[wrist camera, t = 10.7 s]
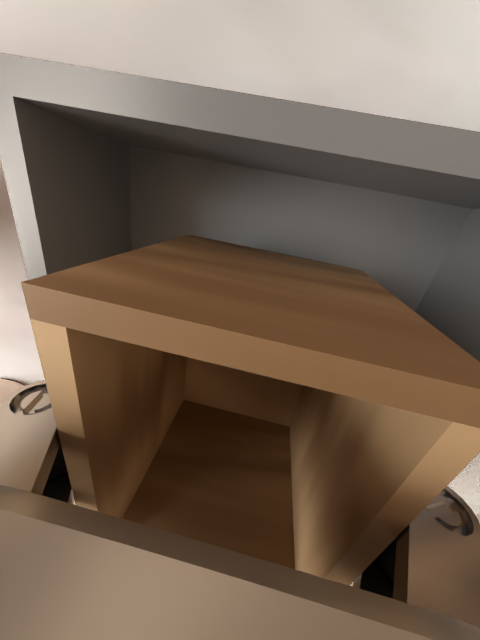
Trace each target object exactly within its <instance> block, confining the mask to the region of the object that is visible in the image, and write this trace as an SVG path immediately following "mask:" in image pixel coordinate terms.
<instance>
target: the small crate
mask: <svg viewBox="0 0 480 640" xmlns="http://www.w3.org/2000/svg"><path fill="white" fill-rule="evenodd" d="M21 284H22V288H23V292H24V296H25V300H26V304H27V308H28V312H29V316H30V321H31V325H32V329H33V333H34V337H35V341H36V345H37V349H38V353H39V357H40V361H41V365H42V369H43V373H44V377H45V381H46V386H47V390H48V394H49V398H50V402H51V406H52V410H53V414H54V418H55V422H56V426H57V430H58V434H59V438H60V442H61V446H62V450H63V455H64V459H65V463H66V467H67V471H68V475H69V479H70V483H71V487H72V491H73V495H74V499H75V503H76V505H77V506H80V507H84V508H87V509H91V510H94V511H98V512H101V513H105V514H108V515H112V516H115V517H119V518H122V519H125V520H129V521H132V522H136V523H139V524H143V525H146V526H150V527H153V528H157V529H160V530H163V531H167V532H170V533H174V534H177V535H180V536H184V537H187V538H191V539H194V540H197V541H201V542H204V543H208V544H211V545H214V546H218V547H221V548H225V549H228V550H231V551H235V552H238V553H241V554H245V555H248V556H252V557H255V558H258V559H262V560H265V561H269V562H272V563H275V564H279V565H282V566H285V567H289V568H292V569H295V570H299V571H302V572H305V573H309V574H312V575H315V576H319V577H322V578H325V579H329V580H332V581H335V582H338V583H342V584H345V585H348V586H349V585H350V584H351V583H352V582H353V581H354V580H355V579H356V578H357V577H358V576H359V575H360V574H361V573H362V572H363V571H364V570H365V569H366V568H367V567H368V566H369V565H370V564H371V563H372V562H373V561H374V560H375V559H376V558H377V557H378V556H379V555H380V554H381V553H382V552H383V551H384V550H385V549H386V548H387V547H388V545H389V544H390V543H391V542H392V541H393V540H394V539H395V538H396V537H397V536H398V535H399V534H400V533H401V532H402V531H403V530H404V529H405V528H406V527H407V526H408V525H409V524H410V523H411V522H412V521H413V520H414V519H415V518H416V517H417V516H418V515H419V514H420V513H421V512H422V511H423V510H424V509H425V508H426V507H427V506H428V505H429V503H430V502H431V501H432V500H433V499H434V498H435V497H436V496H437V495H438V494H439V493H440V492H441V491H442V490H443V489H444V488H445V487H446V486H447V485H448V484H449V483H450V482H451V481H452V480H453V479H454V478H455V477H456V476H457V475H458V474H459V473H460V472H461V471H462V470H463V469H464V468H465V467H466V466H467V465H468V464H469V462H470V461H471V460H472V459H473V458H474V457H475V456H476V455H477V454H478V453H479V452H480V362H479V361H478V360H476V359H475V358H474V357H472V356H471V355H470V354H469V353H467V352H466V351H465V350H463V349H462V348H461V347H460V346H458V345H457V344H456V343H454V342H453V341H452V340H451V339H449V338H448V337H447V336H445V335H444V334H443V333H442V332H440V331H439V330H438V329H436V328H435V327H434V326H433V325H431V324H430V323H429V322H427V321H426V320H425V319H424V318H422V317H421V316H420V315H418V314H417V313H416V312H415V311H413V310H412V309H411V308H409V307H408V306H407V305H406V304H404V303H403V302H402V301H400V300H399V299H398V298H397V297H395V296H394V295H393V294H391V293H390V292H389V291H388V290H386V289H385V288H384V287H382V286H381V285H380V284H379V283H377V282H376V281H375V280H373V279H372V278H371V277H370V276H368V275H367V274H366V273H364V272H363V271H362V270H357V269H352V268H348V267H343V266H338V265H333V264H328V263H324V262H319V261H314V260H309V259H304V258H300V257H295V256H290V255H285V254H281V253H276V252H271V251H266V250H261V249H257V248H252V247H247V246H242V245H238V244H233V243H228V242H223V241H218V240H214V239H209V238H204V237H199V236H195V235H190V234H188V235H185V236H181V237H178V238H174V239H171V240H167V241H164V242H160V243H157V244H153V245H150V246H146V247H143V248H139V249H136V250H132V251H129V252H125V253H122V254H118V255H115V256H111V257H108V258H104V259H101V260H97V261H94V262H90V263H87V264H83V265H80V266H76V267H73V268H69V269H66V270H62V271H59V272H55V273H52V274H48V275H45V276H41V277H38V278H34V279H31V280H27V281H24V282H21Z"/></svg>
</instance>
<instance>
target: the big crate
mask: <svg viewBox="0 0 480 640" xmlns="http://www.w3.org/2000/svg"><path fill="white" fill-rule="evenodd" d="M0 160H1V165H2V169H3V173H4V178H5V182H6V186H7V191H8V195H9V199H10V204H11V208H12V212H13V217H14V221H15V225H16V230H17V234H18V238H19V243H20V247H21V252H22V256H23V260H24V265H25V269H26V273H27V278H28V280H31V279H34V278H38V277H41V276H45V275H48V274H52V273H55V272H59V271H62V270H66V269H69V268H73V267H76V266H80V265H83V264H87V263H90V262H94V261H97V260H101V259H104V258H108V257H111V256H115V255H118V254H122V253H125V252H129V251H132V250H136V249H139V248H143V247H146V246H150V245H153V244H157V243H160V242H164V241H167V240H171V239H174V238H178V237H181V236H185V235H188V234H190V235H195V236H199V237H204V238H209V239H214V240H218V241H223V242H228V243H233V244H238V245H242V246H247V247H252V248H257V249H261V250H266V251H271V252H276V253H281V254H285V255H290V256H295V257H300V258H304V259H309V260H314V261H319V262H324V263H328V264H333V265H338V266H343V267H348V268H352V269H357V270H362V271H363V272H364V273H366V274H367V275H368V276H370V277H371V278H372V279H373V280H375V281H376V282H377V283H379V284H380V285H381V286H382V287H384V288H385V289H386V290H388V291H389V292H390V293H391V294H393V295H394V296H395V297H397V298H398V299H399V300H400V301H402V302H403V303H404V304H406V305H407V306H408V307H409V308H411V309H412V310H413V311H415V312H416V313H417V314H418V315H420V316H421V317H422V318H424V319H425V320H426V321H427V322H429V323H430V324H431V325H433V326H434V327H435V328H436V329H438V330H439V331H440V332H442V333H443V334H444V335H445V336H447V337H448V338H449V339H451V340H452V341H453V342H454V343H456V344H457V345H458V346H460V347H461V348H462V349H463V350H465V351H466V352H467V353H469V354H470V355H471V356H472V357H474V358H475V359H476V360H478V361H479V362H480V132H476V131H470V130H464V129H458V128H452V127H446V126H440V125H434V124H428V123H421V122H415V121H409V120H403V119H397V118H391V117H385V116H379V115H373V114H367V113H361V112H355V111H349V110H343V109H337V108H331V107H325V106H319V105H313V104H307V103H301V102H295V101H289V100H282V99H276V98H270V97H264V96H258V95H252V94H246V93H240V92H234V91H228V90H222V89H216V88H210V87H204V86H198V85H192V84H186V83H180V82H174V81H168V80H162V79H156V78H149V77H143V76H137V75H131V74H125V73H119V72H113V71H107V70H101V69H95V68H89V67H83V66H77V65H71V64H65V63H59V62H53V61H47V60H41V59H35V58H29V57H23V56H17V55H10V54H4V53H0Z"/></svg>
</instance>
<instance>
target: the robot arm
mask: <svg viewBox="0 0 480 640" xmlns="http://www.w3.org/2000/svg"><path fill="white" fill-rule="evenodd" d="M73 503H74V495H73V491H72V487H71V483H70V479H69V475H68V471H67V467H66V463H65V459H64V455H63V450H62V446H61V442H60V438H59V434H58V430H57V426H56V422H55V418H54V414H53V410H52V406H51V402H50V398H49V394H48V390H47V386H46V381H38V382H35V383H31V384H28V385H26V386H23V387H21V388H19V389H17V390H16V391H14V392H13V393H12V394H10V395H9V396H8V397H7V398H6V399H5V400H4V402H3V403H2V404H1V406H0V640H480V523H479V521H478V519H477V517H476V516H475V514H474V513H473V511H472V509H471V508H470V507H469V506H468V505H467V504H466V502H465V501H464V500H463V499H462V498H461V497H460V496H459V495H458V494H456V493H455V492H454V491H453V490H452V489H450V488H449V487H447V486H446V487H445V488H444V489H443V490H442V491H441V492H440V493H439V494H438V495H437V496H436V497H435V498H434V499H433V500H432V501H431V502H430V503H429V505H428V506H427V507H426V508H425V509H424V510H423V511H422V512H421V513H420V514H419V515H418V516H417V517H416V518H415V519H414V520H413V521H412V522H411V523H410V524H409V525H408V526H407V527H406V528H405V529H404V530H403V531H402V532H401V533H400V534H399V535H398V536H397V537H396V538H395V539H394V540H393V541H392V542H391V543H390V544H389V545H388V547H387V548H386V549H385V550H384V551H383V552H382V553H381V554H380V555H379V556H378V557H377V558H376V559H375V560H374V561H373V562H372V563H371V564H370V565H369V566H368V567H367V568H366V569H365V570H364V571H363V572H362V573H361V574H360V575H359V576H358V577H357V578H356V579H355V580H354V583H353V587H352V586H348V585H345V584H342V583H338V582H335V581H332V580H329V579H325V578H322V577H319V576H315V575H312V574H309V573H305V572H302V571H299V570H295V569H292V568H289V567H285V566H282V565H279V564H275V563H272V562H269V561H265V560H262V559H258V558H255V557H252V556H248V555H245V554H241V553H238V552H235V551H231V550H228V549H225V548H221V547H218V546H214V545H211V544H208V543H204V542H201V541H197V540H194V539H191V538H187V537H184V536H180V535H177V534H174V533H170V532H167V531H163V530H160V529H157V528H153V527H150V526H146V525H143V524H139V523H136V522H132V521H129V520H125V519H122V518H119V517H115V516H112V515H108V514H105V513H101V512H98V511H94V510H91V509H87V508H84V507H80V506H77V505H73Z"/></svg>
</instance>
